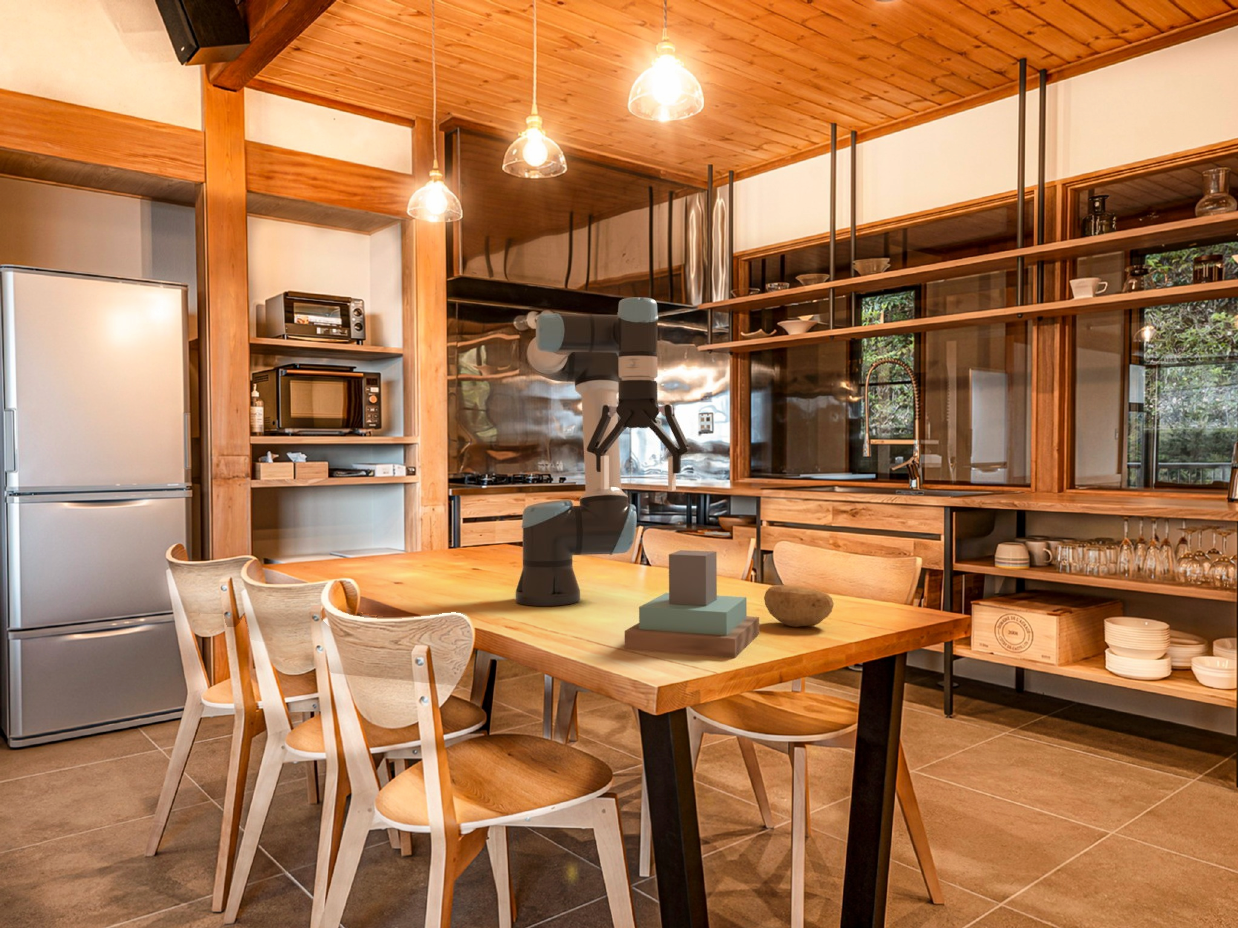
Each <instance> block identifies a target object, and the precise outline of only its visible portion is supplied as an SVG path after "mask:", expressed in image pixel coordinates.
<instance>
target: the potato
mask: <svg viewBox="0 0 1238 928" xmlns="http://www.w3.org/2000/svg"><path fill="white" fill-rule="evenodd" d="M763 599H764V605H765V607H766V609H767V610H768V613H769V614H770V615H771V616H772V617H773V618H775V619H776V620H777V621H778V622H780V623H782V624H783V625H786V626H788V627H794V628H798V627H814V626H817V625H819V624H820V623H822V621H824V620H825V619H826V618H828V616H830V614H831V613H832V612H833V609H834V601H833V598H832V597H831V596H830V594H828V593H827V592H824V591H822V590H819V589H814V588H813V589H812V588H807V587H803V586H798V585H786V584H775V585H772V586H770V587H769V588H767V590H766V591H765V593H764V597H763Z"/></svg>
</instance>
